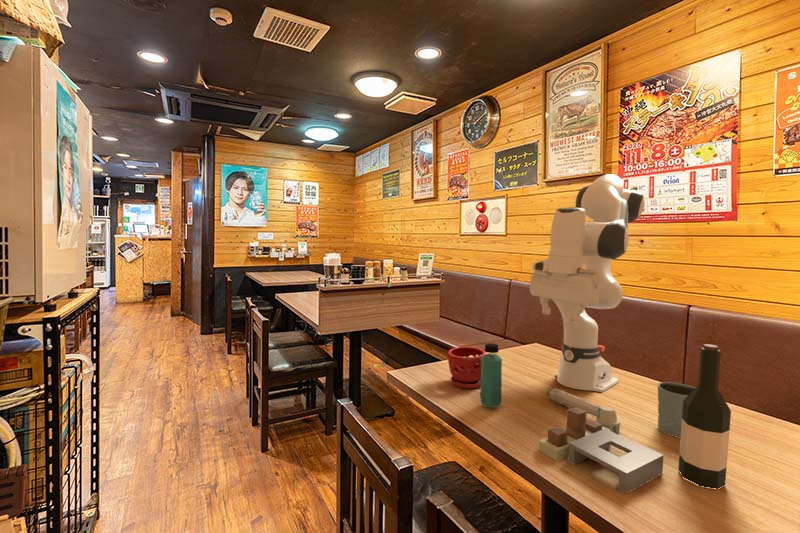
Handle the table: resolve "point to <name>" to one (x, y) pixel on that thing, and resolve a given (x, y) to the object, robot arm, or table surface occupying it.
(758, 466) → the table surface
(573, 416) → the pin long
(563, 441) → the pin medium
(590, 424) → the pin short
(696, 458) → the wine bottle
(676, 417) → the grey cup
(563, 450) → the peg rack
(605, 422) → the beige long piece
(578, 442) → the hole bridge
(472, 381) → the plant pot
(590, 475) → the table surface
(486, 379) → the beverage bottle
